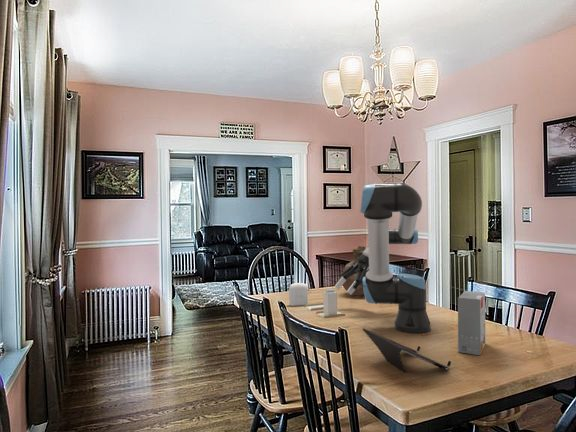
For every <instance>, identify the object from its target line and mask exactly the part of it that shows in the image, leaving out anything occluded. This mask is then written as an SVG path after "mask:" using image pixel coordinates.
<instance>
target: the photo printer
mask: <svg viewBox="0 0 576 432" xmlns="http://www.w3.org/2000/svg"><path fill="white" fill-rule="evenodd" d="M288 289H289V292H288V293H289V298H288V299H289V302H288V303H289V307H295V306H297V307H298V306H304V305H306V304H309V303H308V302H309V301H308V300H309V298H308V294H309V293H308V291H309V290H308V285H307V283H303V282H295V283H292V284H289V287H288Z"/></svg>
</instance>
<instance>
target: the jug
mask: <svg viewBox="0 0 576 432" xmlns="http://www.w3.org/2000/svg"><path fill="white" fill-rule="evenodd" d="M365 249H366V246H365V245H358V247H357V248H354V249H352V253H353V259H352V260H351V261H350V262H349V263H346V265H344V268H343V270H342V272H341V274H342V273H343V272H344V271H346V270H347V269H348V268H349V267H350V266H352V264H353V263H356V264H357V263H358V258H359V257H360V256H361V254H363V252H364V250H365ZM357 275H358V273H356V274H353V275H352V276H350V277H349V278H347V280H346V281H345V283H344V284H343V285H342V286H343V289H344V290H345V291H346V292H347V290H348V289H349V288H350V286H351V285H352V284H353V283H354V281H355V280H356V279H357ZM340 276H341V275H340ZM341 278H342V276H341V277H340V279H341ZM362 281H363V280H362ZM356 282H357V281H356ZM351 296H352V297H358V298H360V297H365V296H364V290H363V284H359V286H358V287H357V288H356V289H355V291H354V292H353V293H352V295H351Z"/></svg>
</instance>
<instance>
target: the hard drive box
mask: <svg viewBox="0 0 576 432" xmlns="http://www.w3.org/2000/svg"><path fill="white" fill-rule="evenodd" d="M485 346H486V292H482V291H473V290H472V291H470V290H469V291H468V290H464V291H463V293H462V294H460V295H459V296H458V297H457V352H458V353H462V354H469V355H474V356H481V355H482V353H483V350H484V348H485Z"/></svg>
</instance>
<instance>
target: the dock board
mask: <svg viewBox="0 0 576 432" xmlns="http://www.w3.org/2000/svg"><path fill="white" fill-rule="evenodd" d="M303 308H306V309H308V310H310V311H315V313H316V314H317V315H319V316H321V317H322V318H324V319H328V318H329V319H330V318H336V317H345V316H346V313H345V312H343V313H342V312H340V311H337V314H333V315H325V314H324V302H317V303H308V304H306V305H303Z"/></svg>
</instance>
